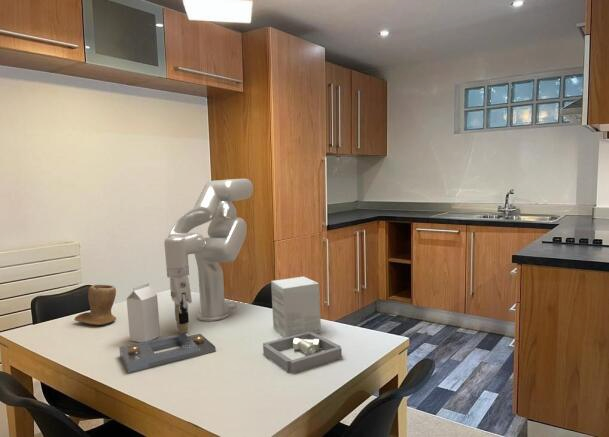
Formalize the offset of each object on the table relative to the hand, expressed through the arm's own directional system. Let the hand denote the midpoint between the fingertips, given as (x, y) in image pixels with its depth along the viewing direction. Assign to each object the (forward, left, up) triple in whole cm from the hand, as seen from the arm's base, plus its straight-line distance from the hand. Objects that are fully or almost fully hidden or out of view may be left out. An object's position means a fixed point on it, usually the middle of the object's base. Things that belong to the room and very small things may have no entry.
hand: (182, 321), depth 157 cm
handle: (0, 0, -4) cm, 4 cm away
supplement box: (-34, +23, -5) cm, 41 cm away
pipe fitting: (-26, +42, -5) cm, 49 cm away
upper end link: (+12, +16, -4) cm, 21 cm away
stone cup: (+23, -35, -5) cm, 42 cm away
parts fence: (-24, +43, -4) cm, 50 cm away
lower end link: (+7, +16, -4) cm, 18 cm away
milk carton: (+12, -3, -5) cm, 13 cm away
